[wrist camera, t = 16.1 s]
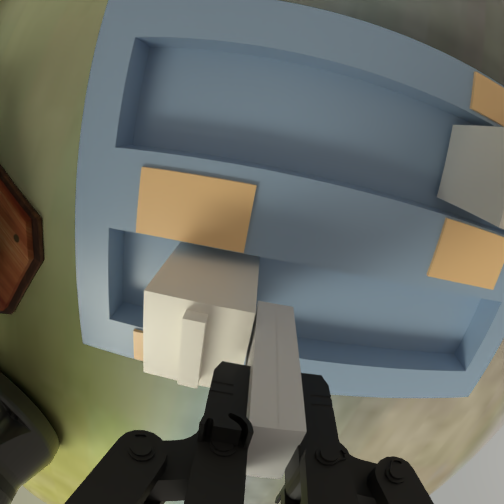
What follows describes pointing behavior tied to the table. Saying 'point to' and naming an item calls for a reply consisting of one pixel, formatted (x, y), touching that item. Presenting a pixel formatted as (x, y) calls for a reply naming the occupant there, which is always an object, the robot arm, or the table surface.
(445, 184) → the tab
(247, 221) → the switch bank
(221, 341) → the tab
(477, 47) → the table surface
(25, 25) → the table surface
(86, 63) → the table surface
